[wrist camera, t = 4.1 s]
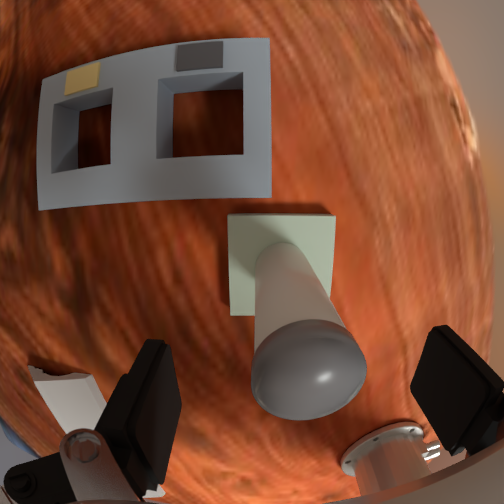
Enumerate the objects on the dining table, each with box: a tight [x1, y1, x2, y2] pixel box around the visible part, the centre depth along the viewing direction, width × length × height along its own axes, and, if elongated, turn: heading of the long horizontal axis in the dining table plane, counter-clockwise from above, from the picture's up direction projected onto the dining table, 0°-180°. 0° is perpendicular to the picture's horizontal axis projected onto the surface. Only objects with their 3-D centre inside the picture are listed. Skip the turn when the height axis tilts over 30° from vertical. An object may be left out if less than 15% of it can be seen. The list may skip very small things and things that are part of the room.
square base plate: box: [227, 213, 336, 315], centre depth 22 cm, size 8×8×1 cm
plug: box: [251, 242, 367, 420], centre depth 16 cm, size 4×4×13 cm
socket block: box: [37, 38, 271, 210], centre depth 18 cm, size 18×11×4 cm, turn 90°
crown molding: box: [27, 365, 166, 498], centre depth 29 cm, size 29×12×4 cm, turn 7°
